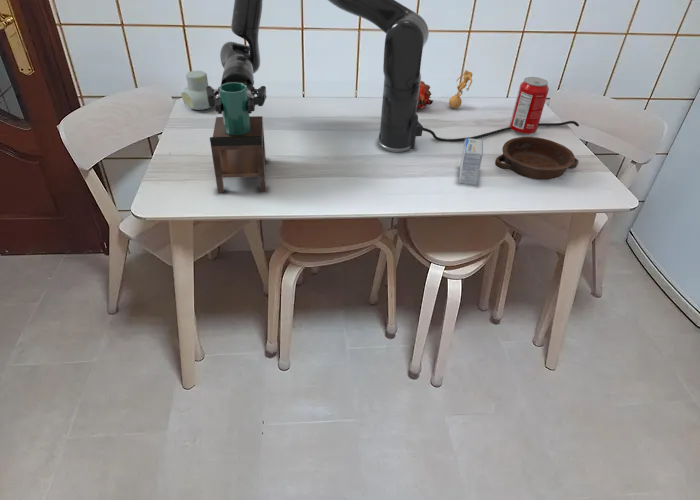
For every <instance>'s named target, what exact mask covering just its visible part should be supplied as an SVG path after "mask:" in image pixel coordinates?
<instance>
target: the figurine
mask: <svg viewBox="0 0 700 500" xmlns="http://www.w3.org/2000/svg"><path fill="white" fill-rule="evenodd" d="M472 77H473V73H472V72H471V71H468V70H467V69H465V70H464V72H463V73H462V74H461V75H460V76H459V77H458V78H457V79H456V82H458V81H459V80H460V79H461V78H463V79H462V80H461V82H460V83H459V84H458V85H457V86H456V89H457V91H458V92H457V93H456V94H454V95H452V96H450V98H449V99H448V105H449V107H450V108H452V109H454V110H455V109H459V108H460V107H461V105H462V103H463V102H462V98H461V96H462V95H463V90H464V89H465V88H466V87H467V85H468V87H467V88H466V89H465V90H466V91H469V90H470V87H471V86H472V83H473V78H472ZM467 83H469V84H467Z"/></svg>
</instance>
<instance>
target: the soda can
mask: <svg viewBox="0 0 700 500" xmlns="http://www.w3.org/2000/svg"><path fill="white" fill-rule="evenodd" d="M548 85H549V81H548V80H547V79H545V78H542V77H537V76H527V77H525V78H524V79H523V81H522V82H520V85H519V88H518V92H517V94H516V95H517V96H516V99H515V103H514V108H513V112H512V115H511V119H510V123H509V127H511V131H513V132H514V133H516V134H519V135H524V136H528V135H533V134H535V133H536V132H537V130H538V127H539V126H538V125H539V123H540V121H541V117H542V114H543V112H544V111H543V110H544V108H545V104H546V101H547V97H548V94H549V90H550V87H549V86H548Z"/></svg>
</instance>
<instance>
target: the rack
mask: <svg viewBox="0 0 700 500" xmlns="http://www.w3.org/2000/svg"><path fill="white" fill-rule="evenodd" d="M249 116H250V115H249ZM250 129H251V130H250V132H248V133H247V134H244V135H237V136H236V135H230V134H227V133H226V132H225V129H224V121H223V116H216V117H215V122H214V127H213V133H212V136H210V137H209V142H210V149H211V155H212V162H213V163H212V164H213V169H214V176H215V183H216V190H217V193H218V194H224V193H225V185H224V179H225V178H226V179H229V178H230V179H231V178H258V187H259V188H258V189H259V192H266V191H267V188H266V175H265V173H266V172H265V171H266V169H265V168H266V167H265V166H266V165H265V163H267V158H266V157H267V156H266V145H265V131H264V117H263V116H262V115H259V116H257V115H256V116H250Z"/></svg>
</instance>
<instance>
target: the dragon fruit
mask: <svg viewBox="0 0 700 500" xmlns="http://www.w3.org/2000/svg"><path fill="white" fill-rule="evenodd" d="M430 90H431V85H429V84H426V83H425V81H423V80H421V82H420V89H419V97H418V105H417V109H420V110H423V109H424V108H426V106H430V105H432V104H433V103H434V99H431V98H432V96H431V95H432V92H431V91H430Z"/></svg>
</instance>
